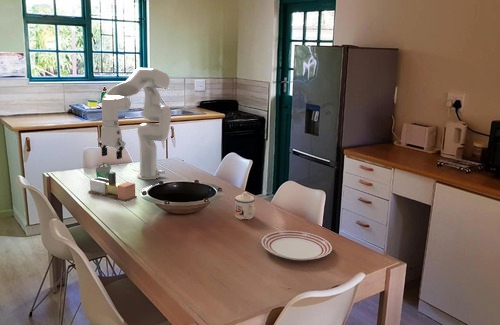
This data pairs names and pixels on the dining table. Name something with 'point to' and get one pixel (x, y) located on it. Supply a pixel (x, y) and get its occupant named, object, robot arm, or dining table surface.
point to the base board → (112, 196)
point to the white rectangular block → (98, 185)
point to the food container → (103, 170)
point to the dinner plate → (296, 245)
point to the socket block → (126, 190)
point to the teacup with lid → (244, 206)
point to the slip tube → (112, 183)
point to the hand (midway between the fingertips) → (111, 157)
